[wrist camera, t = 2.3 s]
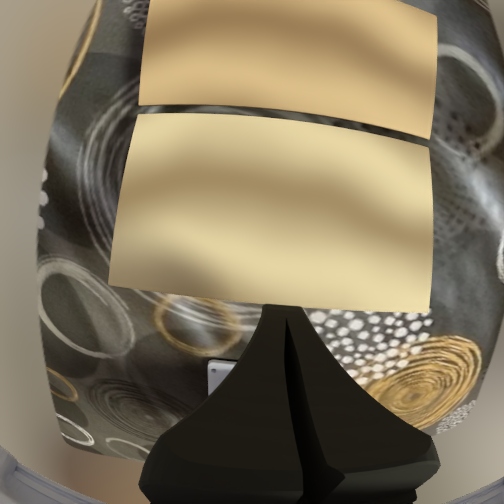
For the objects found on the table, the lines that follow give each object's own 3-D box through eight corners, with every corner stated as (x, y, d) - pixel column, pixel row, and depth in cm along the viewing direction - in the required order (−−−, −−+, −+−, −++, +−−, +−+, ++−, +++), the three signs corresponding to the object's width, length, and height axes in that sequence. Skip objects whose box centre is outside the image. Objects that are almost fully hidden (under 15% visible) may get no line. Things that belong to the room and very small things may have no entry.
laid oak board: (417, 136, 15) (429, 139, 14) (148, 105, 15) (138, 105, 14) (425, 21, 12) (436, 16, 10) (162, -13, 12) (154, -21, 10)
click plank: (414, 310, 15) (428, 312, 13) (120, 284, 15) (108, 284, 13) (416, 156, 15) (428, 147, 14) (146, 126, 16) (138, 114, 14)
